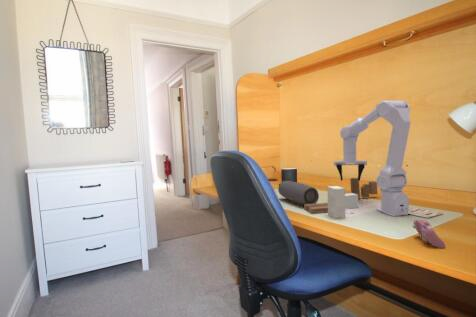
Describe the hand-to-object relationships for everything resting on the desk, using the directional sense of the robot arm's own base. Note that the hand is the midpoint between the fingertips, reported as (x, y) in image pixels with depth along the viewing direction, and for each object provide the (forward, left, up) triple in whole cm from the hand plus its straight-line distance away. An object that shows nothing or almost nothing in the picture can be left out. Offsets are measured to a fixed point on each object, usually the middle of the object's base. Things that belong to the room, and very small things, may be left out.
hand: (350, 180), depth 128 cm
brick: (-11, +8, -10) cm, 17 cm away
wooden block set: (+4, -7, -10) cm, 13 cm away
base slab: (-13, +20, -10) cm, 26 cm away
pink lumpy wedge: (-53, +8, -10) cm, 54 cm away
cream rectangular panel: (-20, +12, -10) cm, 25 cm away
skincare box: (-22, +20, -10) cm, 31 cm away
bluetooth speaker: (+4, +25, -10) cm, 28 cm away
